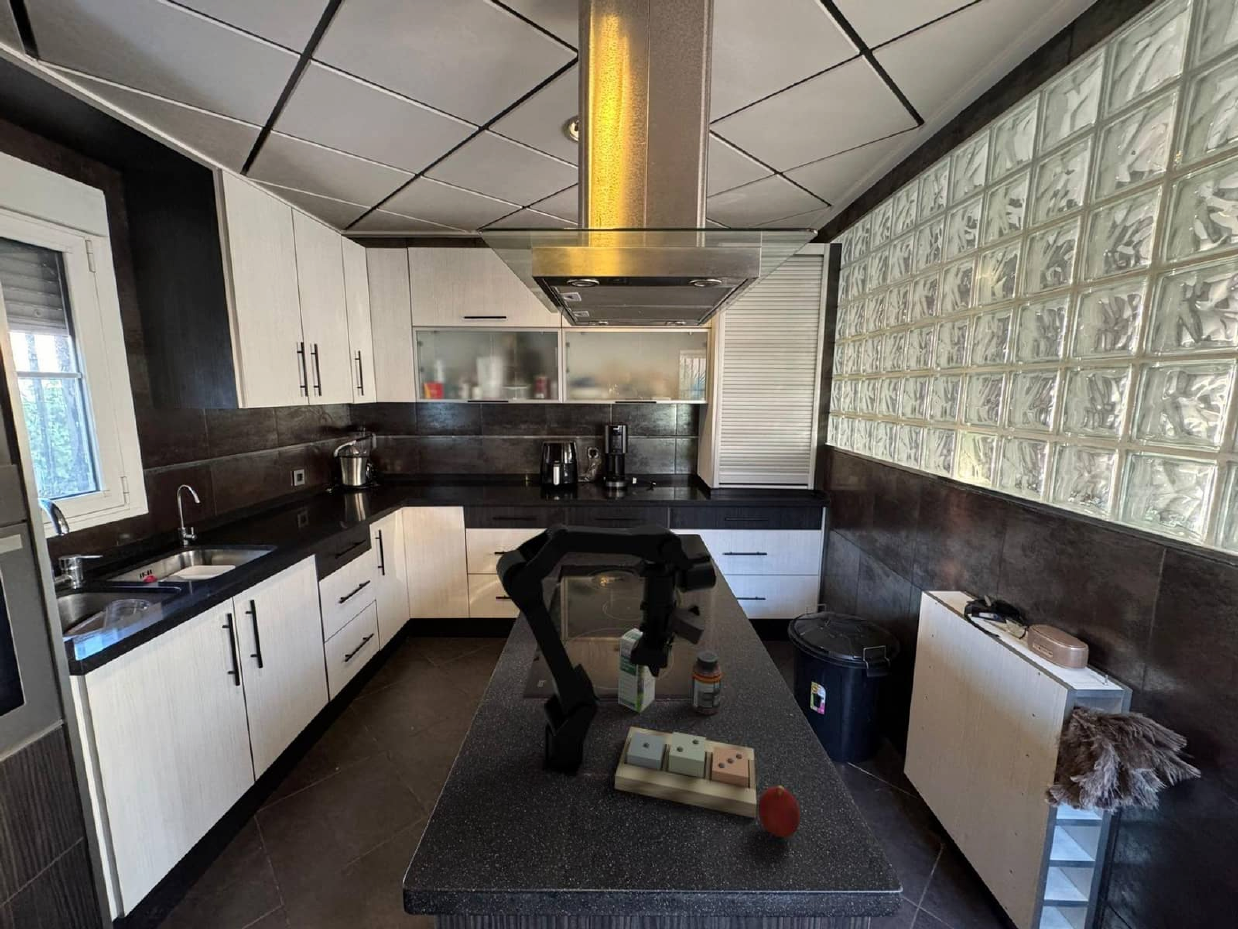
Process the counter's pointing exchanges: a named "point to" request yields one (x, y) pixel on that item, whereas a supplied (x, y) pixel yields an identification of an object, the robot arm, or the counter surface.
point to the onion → (779, 811)
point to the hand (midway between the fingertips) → (655, 676)
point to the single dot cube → (646, 751)
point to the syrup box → (634, 677)
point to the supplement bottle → (706, 683)
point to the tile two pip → (687, 754)
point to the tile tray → (688, 780)
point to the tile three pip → (730, 767)
